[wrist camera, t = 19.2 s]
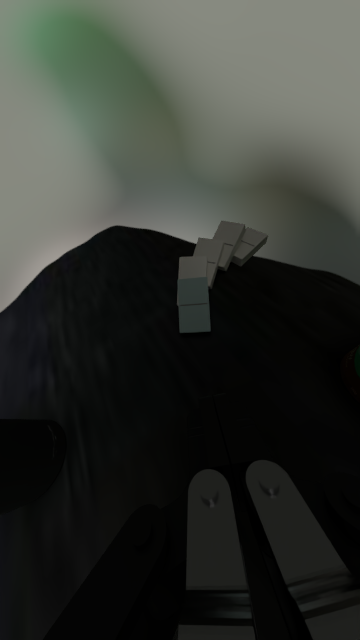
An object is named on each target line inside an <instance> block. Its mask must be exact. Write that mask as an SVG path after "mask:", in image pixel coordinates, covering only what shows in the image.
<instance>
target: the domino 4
mask: <svg viewBox="0 0 360 640" xmlns="http://www.w3.org/2000/svg"><path fill="white" fill-rule="evenodd" d="M245 232H246V229H245V225H244V224H239V223H233V222H226V221H221V223H220V225H219V227H218V229H217V231H216V233H215V235H214V237H213V239H214V240H221V241H224V250H223V253H222V256H221V260H220V263H219V266H218V269H220V270H223V271H226V270H227V268H228V266H229V264H230V262H231V260H232V258H233V256H234V254H235V252H236V250H237V248H238V246H239V244H240V242H241V240H242V238H243V236H244V234H245Z"/></svg>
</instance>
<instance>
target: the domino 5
mask: <svg viewBox="0 0 360 640" xmlns="http://www.w3.org/2000/svg"><path fill="white" fill-rule="evenodd" d="M267 237H268V235H267V234H264V233H262V232H259V231H256V230H254V229H251V228H246V232H245V234H244V236H243V238H242V240H241V242H240V244H239V246H238V248H237V250H236V252H235V254H234V256H233V258H232V260H231V262H233V263H235V264H237V265H239V266H242V265H243V264H244V263H245V262H246V261H247V260H248V259H249V258H250V257H251V256H253V255H254V254H255V253H256V252H257V251H258V250H259V249H260V248H261V247H262V246H263V245H264V244H265V243H266V241H267Z"/></svg>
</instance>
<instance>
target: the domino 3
mask: <svg viewBox="0 0 360 640" xmlns="http://www.w3.org/2000/svg"><path fill="white" fill-rule="evenodd" d="M178 303H179V327H180V333H193V332H211V328H210V312H209V296H208V280H207V277H198V278H188V279H178Z"/></svg>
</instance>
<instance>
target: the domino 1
mask: <svg viewBox="0 0 360 640" xmlns="http://www.w3.org/2000/svg"><path fill="white" fill-rule="evenodd" d="M223 250H224V241H221V240H214V239H205V238H198V242H197V245H196V248H195V251H194V255H193V257H195V256H207V260H208V263H207V280H208V289H212V286H213V283H214V279H215V276H216V273H217V269H218V266H219V263H220V260H221V256H222V253H223Z"/></svg>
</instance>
